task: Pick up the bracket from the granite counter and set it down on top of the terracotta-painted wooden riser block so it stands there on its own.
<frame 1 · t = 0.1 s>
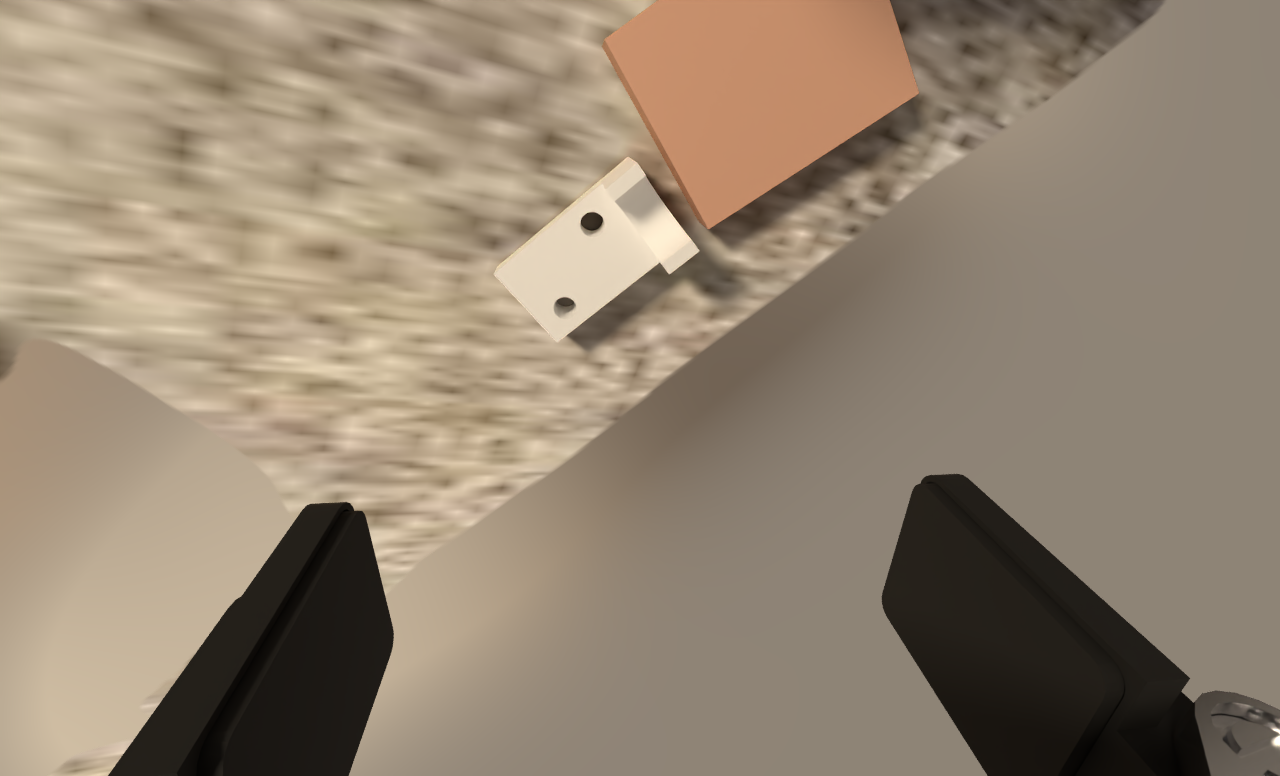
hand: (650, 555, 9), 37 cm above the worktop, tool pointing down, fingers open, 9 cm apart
riser block: (751, 72, 40), on the worktop
bracket: (590, 246, 44), on the worktop
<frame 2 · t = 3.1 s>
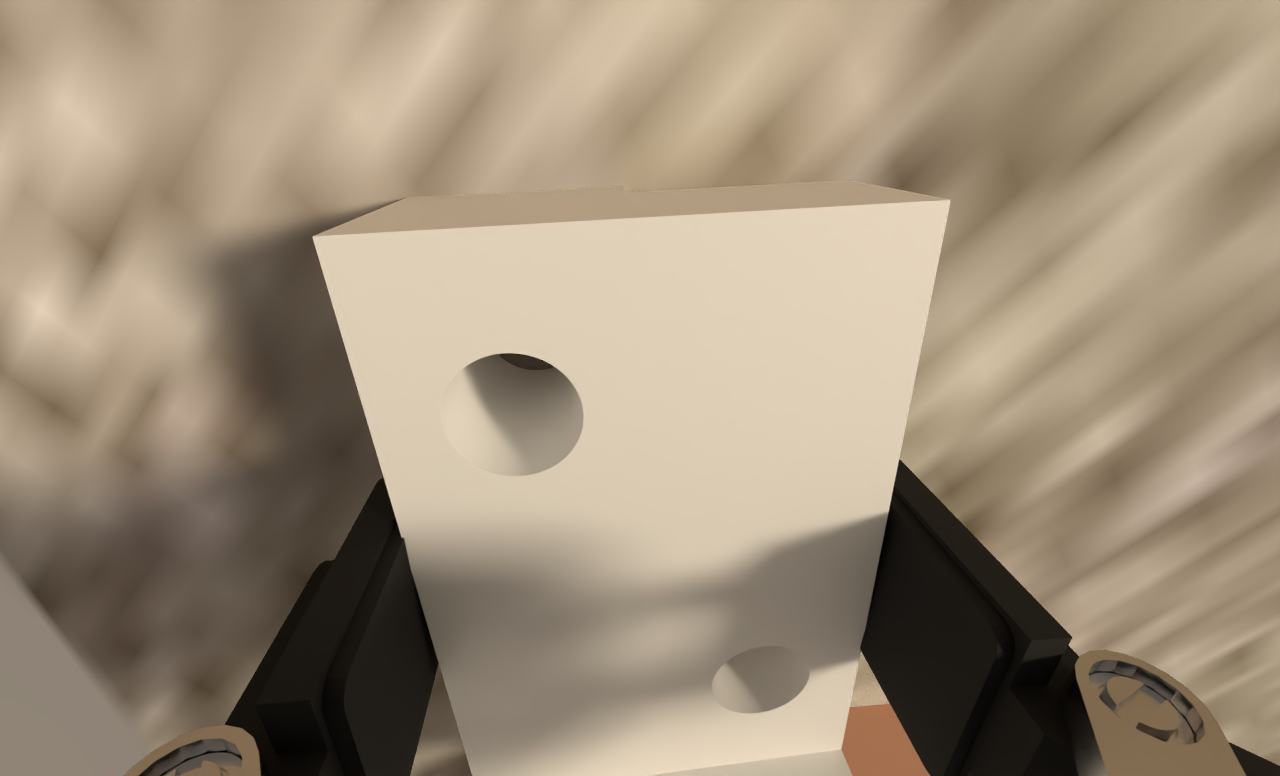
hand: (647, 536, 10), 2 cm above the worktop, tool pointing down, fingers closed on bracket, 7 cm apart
bracket: (637, 492, 12), on the worktop, touching gripper
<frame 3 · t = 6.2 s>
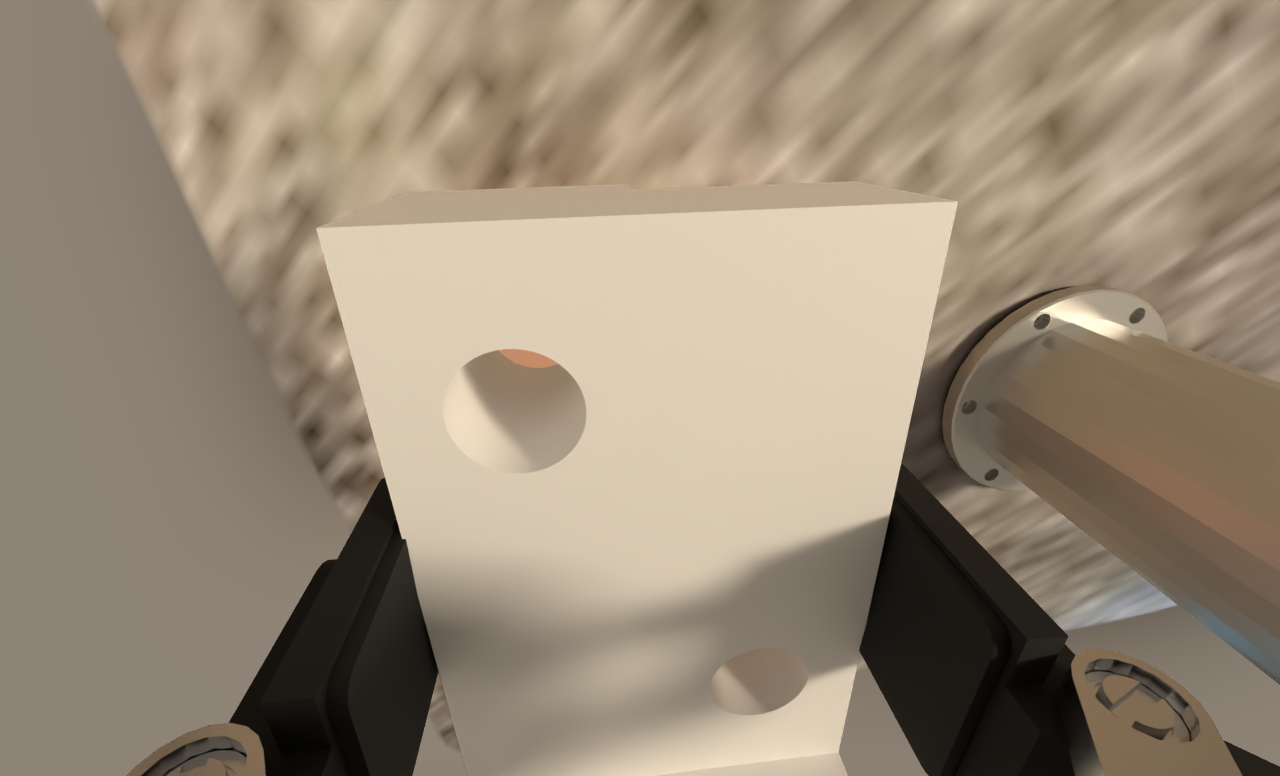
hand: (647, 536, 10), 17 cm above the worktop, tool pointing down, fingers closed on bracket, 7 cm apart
riser block: (609, 368, 28), on the worktop
bracket: (636, 492, 12), point 15 cm above the worktop, touching gripper
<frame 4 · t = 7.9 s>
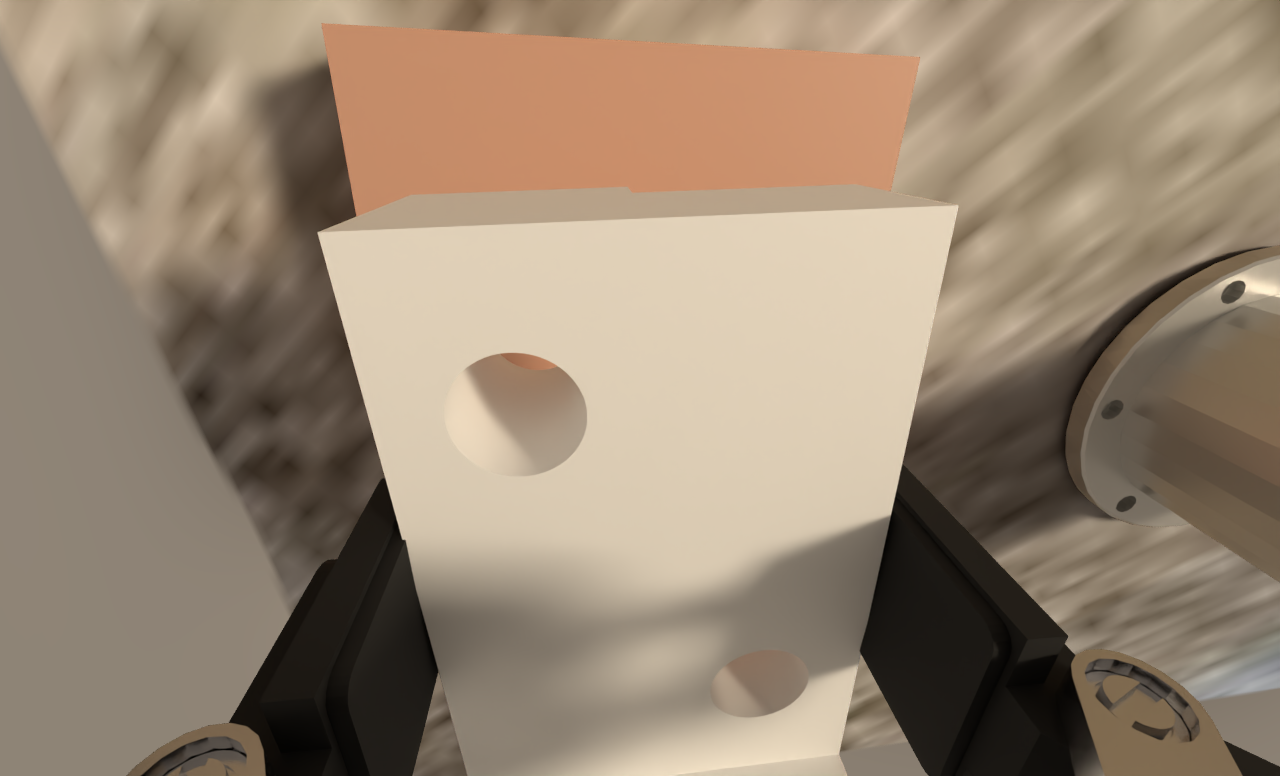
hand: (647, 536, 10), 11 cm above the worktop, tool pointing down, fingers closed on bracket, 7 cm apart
riser block: (619, 329, 20), on the worktop
bracket: (637, 494, 12), point 8 cm above the worktop, touching gripper
when the fingers open (7 cm above the worktop, at t = 9.1 s): bracket drops 2 cm, point 3 cm above the worktop.
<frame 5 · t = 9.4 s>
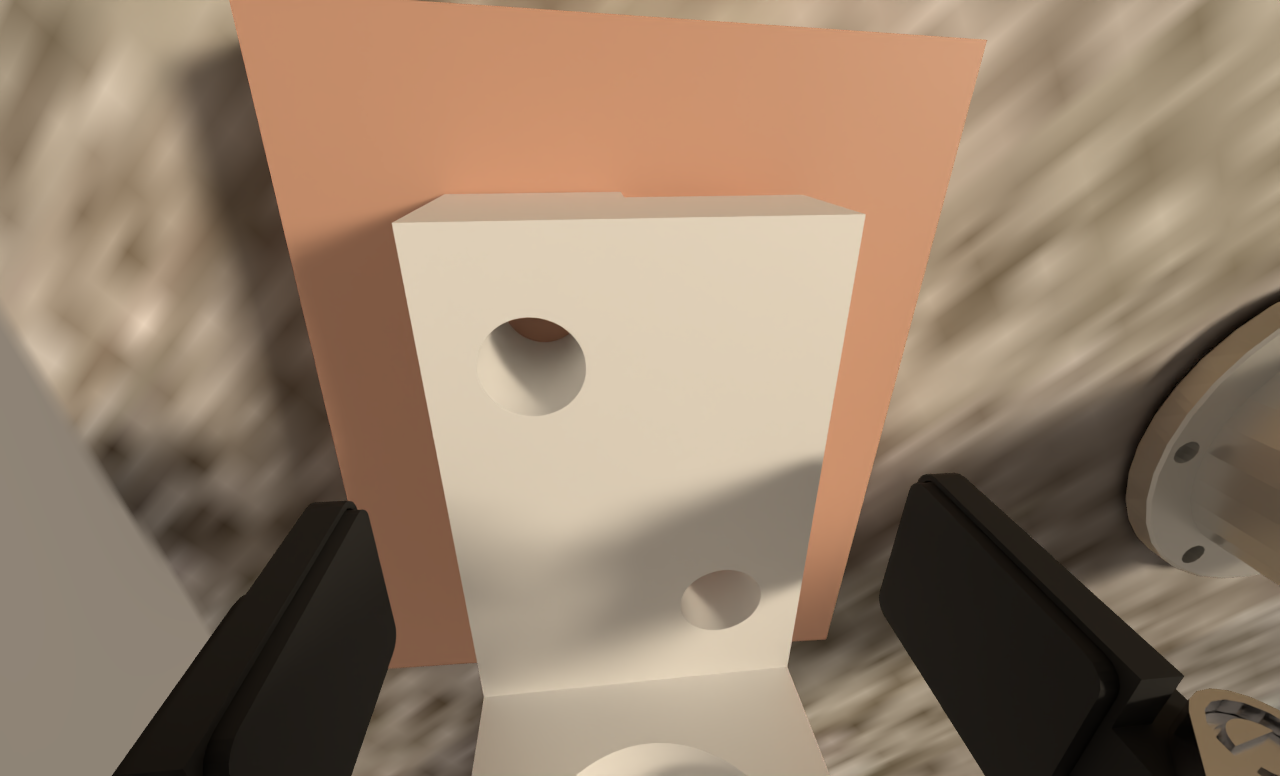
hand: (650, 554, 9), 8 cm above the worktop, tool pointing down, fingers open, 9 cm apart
riser block: (613, 358, 17), on the worktop
bracket: (624, 452, 14), point 3 cm above the worktop
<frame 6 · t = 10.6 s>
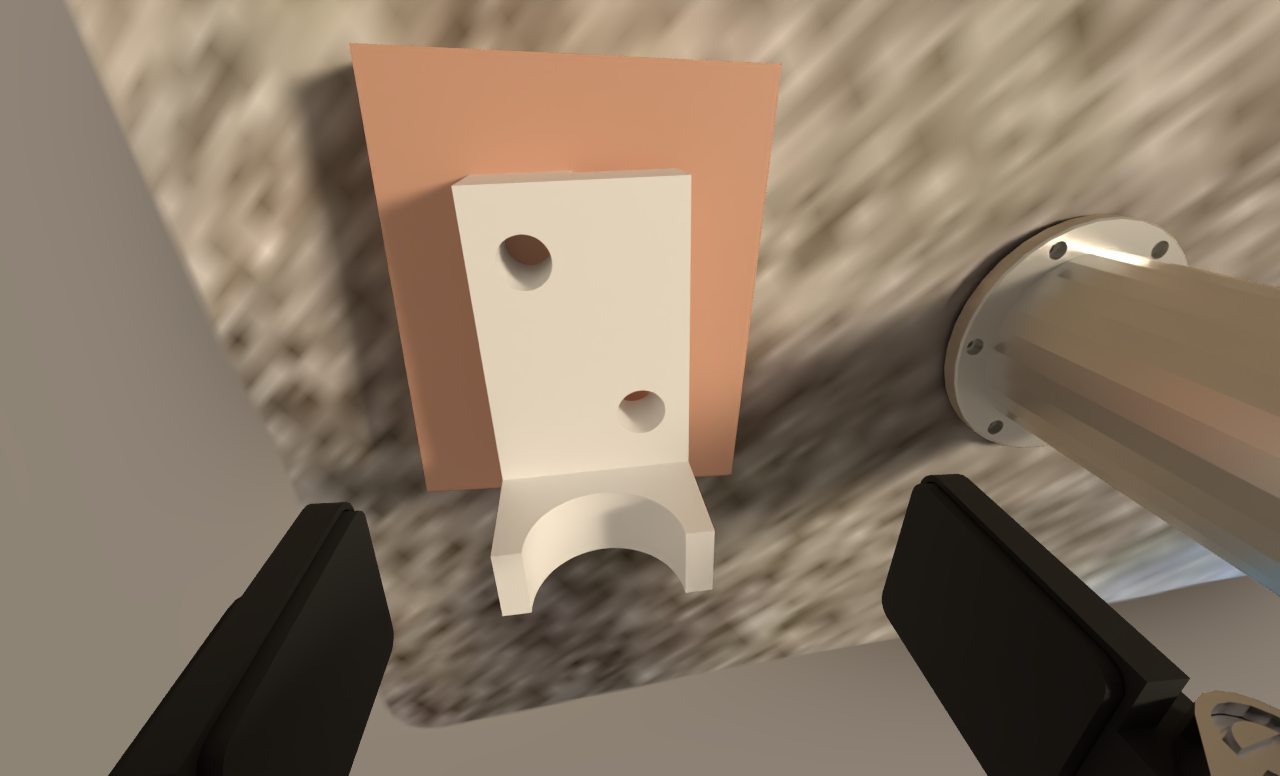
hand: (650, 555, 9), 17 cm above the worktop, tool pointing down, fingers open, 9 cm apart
riser block: (578, 279, 25), on the worktop, touching bracket
bracket: (585, 339, 22), point 3 cm above the worktop, touching riser block
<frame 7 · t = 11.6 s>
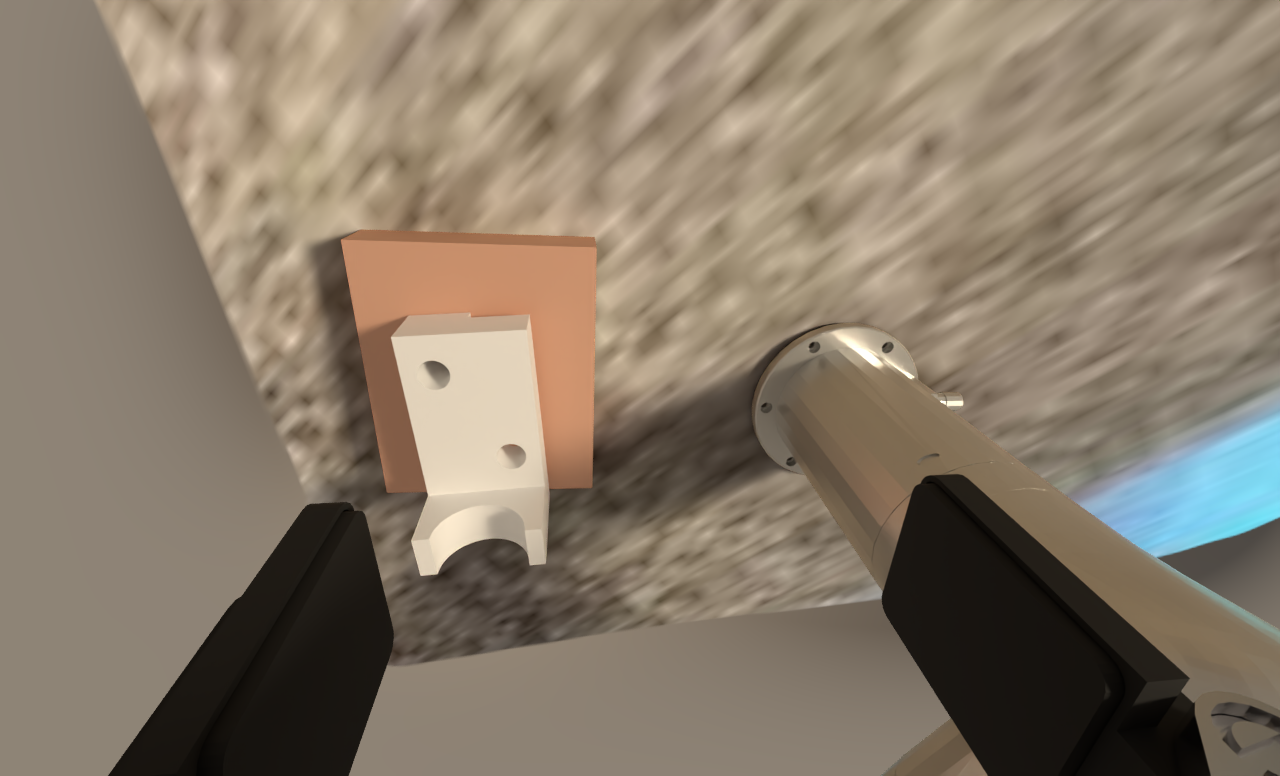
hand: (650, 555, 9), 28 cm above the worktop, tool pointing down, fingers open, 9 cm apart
riser block: (491, 355, 38), on the worktop, touching bracket
bracket: (486, 407, 35), point 3 cm above the worktop, touching riser block
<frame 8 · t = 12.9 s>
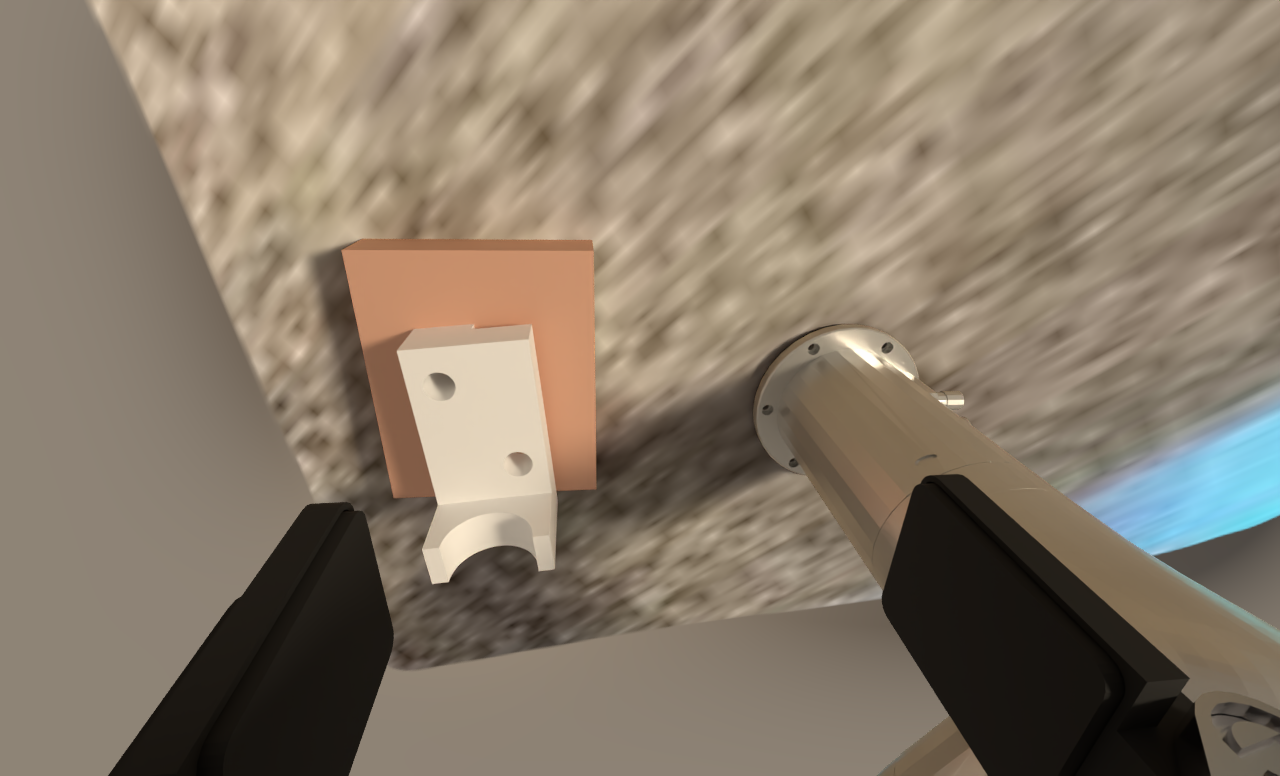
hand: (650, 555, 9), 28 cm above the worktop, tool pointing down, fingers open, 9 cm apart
riser block: (493, 360, 38), on the worktop, touching bracket
bracket: (492, 416, 36), point 3 cm above the worktop, touching riser block
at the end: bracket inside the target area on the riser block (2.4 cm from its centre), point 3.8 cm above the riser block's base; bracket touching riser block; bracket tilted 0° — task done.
